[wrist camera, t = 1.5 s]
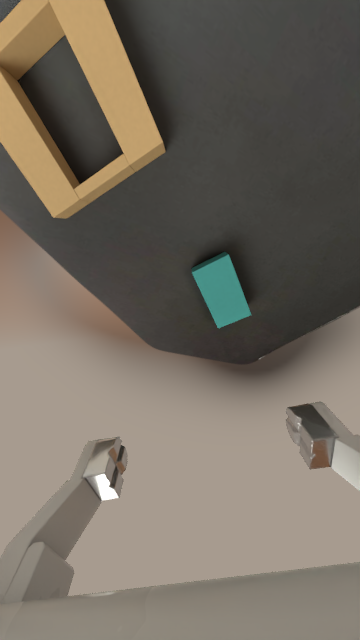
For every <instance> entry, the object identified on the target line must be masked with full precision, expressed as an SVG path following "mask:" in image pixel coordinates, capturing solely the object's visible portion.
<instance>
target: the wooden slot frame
mask: <svg viewBox="0 0 360 640" xmlns="http://www.w3.org/2000/svg"><path fill="white" fill-rule="evenodd" d="M64 35H66V37H67V39H68V41H69V43H70V45H71V47H72V49H73V51H74V53H75V55H76V57H77V59H78V61H79V63H80V65H81V67H82V69H83V71H84V73H85V76H86V78H87V80H88V82H89V84H90V86H91V88H92V90H93V92H94V94H95V96H96V98H97V100H98V102H99V104H100V106H101V108H102V110H103V112H104V114H105V116H106V118H107V120H108V122H109V124H110V126H111V128H112V130H113V132H114V134H115V136H116V138H117V140H118V143H119V145H120V147H121V149H122V151H123V153H124V154H122V155H121V156H119V157H118V158H117V159H115V160H114V161H112V162H111V163H110V164H108V165H107V166H105V167H104V168H103V169H101V170H100V171H98V172H97V173H96V174H94V175H93V176H91V177H90V178H89V179H87V180H86V181H84V182H83V183H82V184H79V182H78V180H77V179H76V177H75V175H74V174H73V172H72V170H71V169H70V167H69V165H68V164H67V162H66V160H65V159H64V157H63V155H62V154H61V152H60V151H59V149H58V147H57V146H56V144H55V142H54V141H53V139H52V137H51V136H50V134H49V132H48V131H47V129H46V127H45V126H44V124H43V122H42V121H41V119H40V117H39V116H38V114H37V112H36V111H35V109H34V107H33V106H32V104H31V103H30V101H29V99H28V98H27V96H26V94H25V93H24V91H23V89H22V88H21V86H20V84H19V83H18V81H17V80H19V79H20V78H21V77H22V76H23V75H24V74H25V73H26V72H27V71H28V70H29V69H30V68H31V67H32V66H33V65H34V64H35V63H36V62H37V61H38V60H39V59H40V58H41V57H42V56H43V55H44V54H45V53H47V52H48V51H49V50H50V49H51V48H52V47H53V46H54V45H55V44H56V43H57V42H58V41H59V40H60V39H61V38H62V37H63V36H64ZM0 142H1V143H2V145H3V146H4V147H5V149H6V150H7V152H8V153H9V155H10V156H11V157H12V159H13V160H14V162H15V163H16V165H17V166H18V167H19V169H20V170H21V172H22V173H23V175H24V176H25V177H26V179H27V180H28V182H29V183H30V185H31V186H32V188H33V189H34V190H35V192H36V193H37V195H38V196H39V198H40V199H41V200H42V202H43V203H44V205H45V206H46V208H47V209H48V210H49V212H50V213H51V215H52V216H53V218H66V219H67V218H68V217H70V216H71V215H73V214H74V213H76V212H77V211H79V210H80V209H82V208H83V207H85V206H86V205H88V204H89V203H91V202H92V201H93V200H95V199H96V198H98V197H99V196H101V195H102V194H104V193H105V192H107V191H108V190H110V189H111V188H113V187H114V186H116V185H117V184H119V183H120V182H121V181H123V180H124V179H126V178H127V177H129V176H130V175H132V174H133V173H135V171H138V170H139V169H141V168H142V167H144V166H145V165H147V164H148V163H150V162H151V161H153V160H154V159H156V158H157V157H159V156H160V155H162V154H163V153H165V148H164V144H163V141H162V138H161V136H160V134H159V131H158V129H157V126H156V124H155V122H154V119H153V117H152V114H151V112H150V110H149V107H148V105H147V102H146V100H145V97H144V95H143V93H142V90H141V88H140V85H139V83H138V81H137V78H136V76H135V73H134V71H133V69H132V66H131V64H130V61H129V59H128V56H127V54H126V52H125V49H124V47H123V44H122V42H121V40H120V37H119V35H118V32H117V30H116V28H115V25H114V23H113V20H112V18H111V15H110V13H109V11H108V8H107V6H106V3H105V1H104V0H21V1H20V2H19V3H18V5H17V6H16V7H15V8H14V9H13V10H12V11H11V12H10V13H9V14H8V15H7V17H6V18H5V19H4V20H3V21H2V22H1V23H0Z"/></svg>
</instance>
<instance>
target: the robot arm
mask: <svg viewBox="0 0 360 640" xmlns="http://www.w3.org/2000/svg"><path fill="white" fill-rule="evenodd" d="M286 414H287V415H288V418H287V420H286V426H287V429H288V432H289V434H290V436H291V438H292V440H293V442H294V443H296V444H297V445H298V446H300V454H301V455H302V457H303V459H304V460H305V462H306V464H307V466H308V467H309V469H317V468H325V467H331V468H332V469H333V470H334V471H336V472H337V473H338V474H339V475H340V476H342V477H343V478H344V479H345V480H347V481H348V482H349V483H350V484H352V485H353V486H354V487H356V488H357V489H358V490H359V491H360V436H359V435H353V434H352V433H351V432H350V431H349V430H348V429H347V428H346V427H345V425H343V423H342V422H341V421H340V420H339V419H338V418H337V417H336V416H335V415H334V414H333V412H332V411H331V410H330V409H329V408H328V407H327V406H326V405H325V404H324V403H322V402H316V403H311V404H304V405H298V406H293V407H288V408H287V409H286ZM121 442H122V441H121V439H120V437H115V438H108V439H101V440H94V441H89V442H88V443H87V444H86V445H85V447H84V449H83V452H82V454H81V456H80V459H79V461H78V463H77V465H76V468H75V470H74V472H73V474H72V476H71V479H70V480H69V481H66V482H65V483H64V484H63V485H62V486H61V488H60V489H59V490H58V491H57V492H56V493H55V494H54V495H53V496H52V497H51V498H50V499H49V501H48V502H47V503H46V504H45V505H44V506H43V507H42V508H41V509H40V510H39V511H38V512H37V514H36V515H35V516H34V517H33V518H32V519H31V520H30V521H29V522H28V523H27V525H26V526H25V527H24V528H23V529H22V530H21V531H20V532H19V533H18V534H17V535H16V537H14V539H13V540H12V541H11V542H10V543H9V544H8V545H7V547H6V549H5V551H4V553H3V554H2V556H1V558H0V640H360V562H357V563H348V564H340V565H331V566H322V567H314V568H306V569H298V570H288V571H280V572H271V573H262V574H254V575H246V576H237V577H228V578H220V579H212V580H203V581H194V582H187V583H186V582H185V583H177V584H168V585H160V586H151V587H144V588H134V589H126V590H117V591H109V592H101V593H92V594H83V595H74V596H67V595H68V592H69V588H70V585H71V582H72V578H73V575H74V570H73V567H72V566H70V565H69V564H68V563H67V562H66V561H65V560H66V558H67V557H68V555H69V553H70V552H71V550H72V548H73V547H74V545H75V544H76V542H77V541H78V539H79V537H80V536H81V534H82V532H83V531H84V529H85V528H86V526H87V525H88V523H89V522H90V520H91V518H92V517H93V515H94V514H95V512H96V510H97V509H98V507H99V506H100V504H101V501H105V500H110V499H116V498H119V497H120V493H121V489H122V484H123V478H122V474H123V472H124V471H125V469H126V466H127V451H126V449H125V447H124V446H122V445H121Z"/></svg>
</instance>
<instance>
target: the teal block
mask: <svg viewBox="0 0 360 640" xmlns="http://www.w3.org/2000/svg"><path fill="white" fill-rule="evenodd" d="M192 274H193V276H194V278H195V280H196V282H197V285H198V287H199V289H200V291H201V293H202V295H203V297H204V299H205V301H206V304H207V306H208V308H209V310H210V312H211V314H212V316H213V318H214V321H215V323H216V325H217V327H218V328H220V327H223V326H225V325H228V324H230V323H233V322H235V321H237V320H240V319H242V318H245V317H247V316H250V315H251V312H250V310H249V307H248V304H247V302H246V299H245V296H244V294H243V291H242V288H241V285H240V283H239V280H238V277H237V275H236V272H235V269H234V267H233V264H232V261H231V259H230V256H229V254H227V253H226V252H223V253H221V254H219V255H217V256H215V257H213V258H211V259H209V260H207V261H205V262H203V263H201V264H199V265H197V266H195V267H193V268H192Z"/></svg>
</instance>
